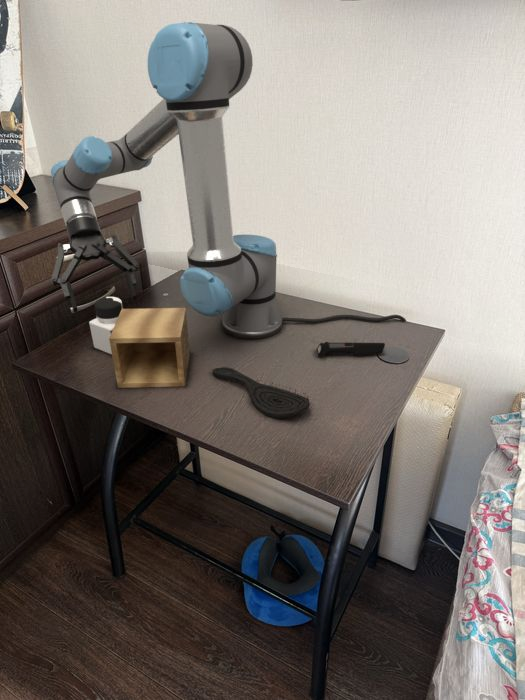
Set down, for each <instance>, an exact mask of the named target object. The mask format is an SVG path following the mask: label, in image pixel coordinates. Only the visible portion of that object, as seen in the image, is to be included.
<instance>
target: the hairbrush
mask: <svg viewBox="0 0 525 700" xmlns="http://www.w3.org/2000/svg"><path fill="white" fill-rule="evenodd" d="M212 374H213V375H214V377H215V378H216V377H217V378H221V379H226V380H230V381H235V382H236V383H238V384H241V385H243V386H245V388H246V389H247V392H248V393H249V397H250V401H251V403H252V404H253V406H254V407H255V408H256V409H257V411H258V412H259V413H262V414H264V415H265V416H266V417H267V416H268V417H272V418H276V419H279V418H291V417H294V416H296V415H300V414H302V413H304V412H305V411H306V410H308V409H309V408H310V405H311V403H310V399H309V397H308V396H304V395H307V394H306V392H300V394H299V393H297V389H295V390H294V388H291V387H288V389H289V390H287V389H283V388H280V387H279V386H281V384H279V383H278V384H277V385H278V386H277V385H275V386H273V382H271V384H266V383H261V382H262V381H263V380H260V382H259V380H258V379H257V380H255V379H253V378H251V377H249V376H247V375H245V374H244V373H241V372H240V371H239V370H236V369H234V368H232V367H224V366H223V367H215V368H213V369H212ZM283 387H284V388H286V386H285V385H283ZM291 390H294V391H291ZM301 393H302V395H301Z"/></svg>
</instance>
